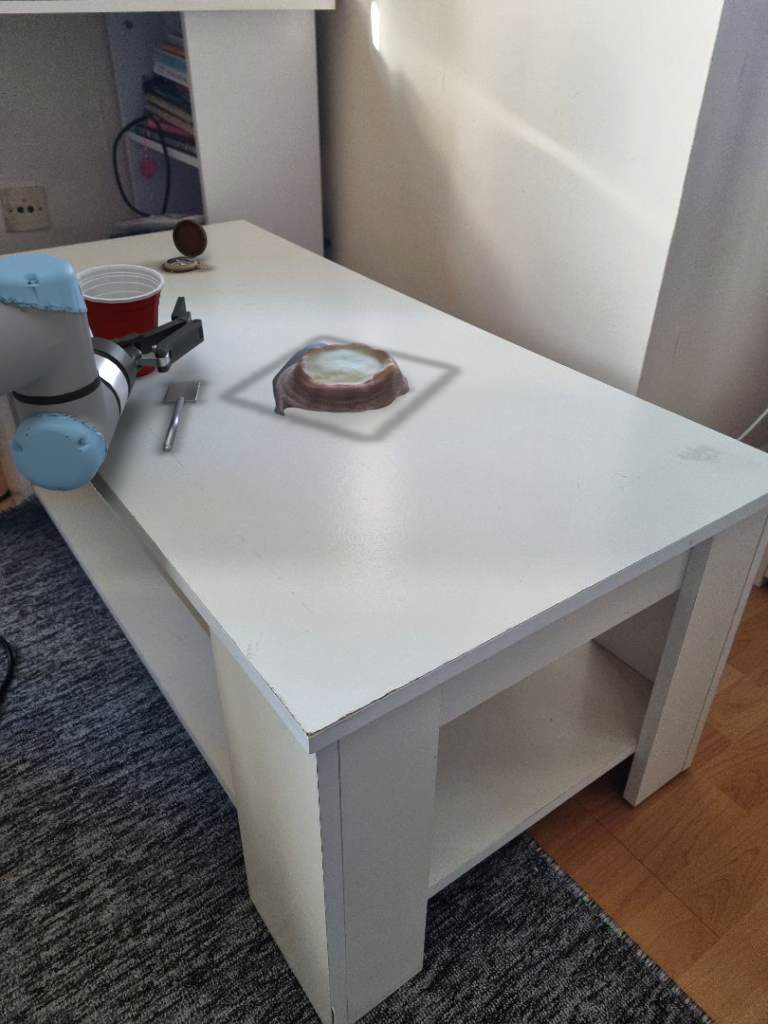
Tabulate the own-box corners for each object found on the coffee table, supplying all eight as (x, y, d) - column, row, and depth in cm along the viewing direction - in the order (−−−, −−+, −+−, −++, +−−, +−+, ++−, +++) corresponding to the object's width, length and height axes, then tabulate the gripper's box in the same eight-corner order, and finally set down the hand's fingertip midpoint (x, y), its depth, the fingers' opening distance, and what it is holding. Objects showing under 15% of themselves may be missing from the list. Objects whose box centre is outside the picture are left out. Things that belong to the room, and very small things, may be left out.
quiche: (321, 340, 109) (320, 312, 107) (456, 373, 101) (458, 343, 99) (223, 401, 94) (219, 370, 92) (371, 446, 86) (370, 412, 84)
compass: (155, 273, 132) (148, 228, 127) (179, 259, 138) (173, 215, 134) (199, 278, 130) (193, 232, 125) (221, 264, 136) (216, 219, 132)
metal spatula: (149, 456, 84) (148, 448, 84) (171, 388, 97) (169, 381, 96) (184, 455, 84) (183, 447, 84) (201, 387, 97) (200, 380, 97)
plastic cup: (124, 399, 95) (105, 301, 88) (71, 374, 100) (49, 280, 93) (196, 369, 102) (183, 275, 95) (142, 347, 107) (126, 257, 100)
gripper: (-21, 421, 84) (36, 339, 101) (216, 413, 85) (232, 334, 103) (-43, 354, 79) (21, 281, 97) (208, 347, 81) (225, 276, 98)
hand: (129, 308), depth 100 cm, fingers open, 12 cm apart
